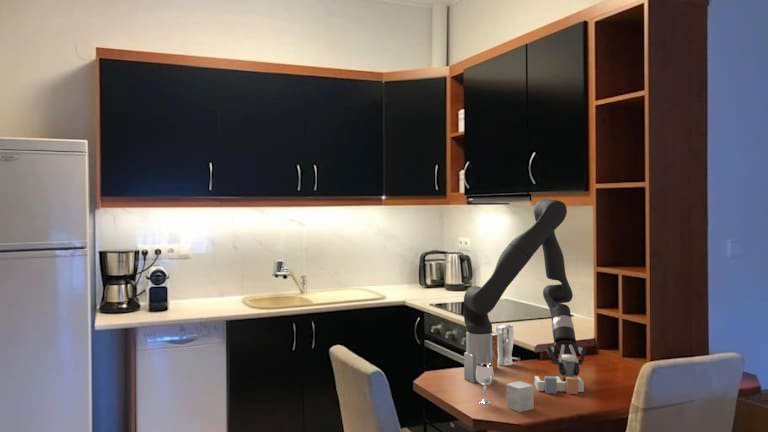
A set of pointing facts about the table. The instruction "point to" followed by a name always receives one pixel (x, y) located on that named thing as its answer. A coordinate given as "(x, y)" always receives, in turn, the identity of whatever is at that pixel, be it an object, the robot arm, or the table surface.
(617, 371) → the table surface
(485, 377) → the wineglass
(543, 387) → the socket block
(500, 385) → the table surface
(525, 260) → the robot arm
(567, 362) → the blue white-capped bottle
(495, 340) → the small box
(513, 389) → the product box
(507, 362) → the beer glass
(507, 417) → the table surface
